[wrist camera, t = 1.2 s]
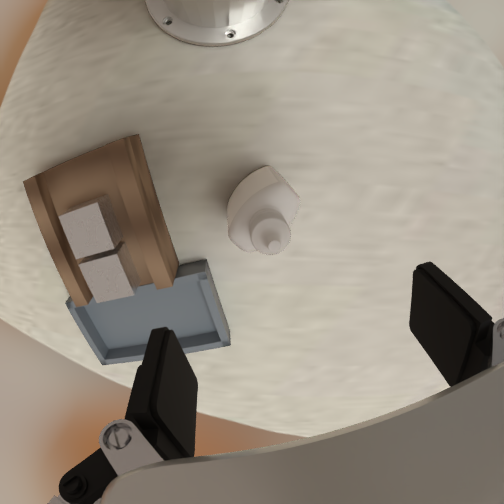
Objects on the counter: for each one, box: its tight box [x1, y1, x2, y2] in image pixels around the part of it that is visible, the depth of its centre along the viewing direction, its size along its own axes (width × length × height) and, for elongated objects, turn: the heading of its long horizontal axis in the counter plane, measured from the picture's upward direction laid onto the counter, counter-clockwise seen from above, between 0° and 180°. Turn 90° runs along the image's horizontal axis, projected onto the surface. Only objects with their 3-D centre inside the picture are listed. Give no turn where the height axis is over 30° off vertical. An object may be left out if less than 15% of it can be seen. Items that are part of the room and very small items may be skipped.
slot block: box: [23, 134, 179, 307], centre depth 26 cm, size 13×10×4 cm
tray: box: [65, 259, 231, 365], centre depth 31 cm, size 9×16×2 cm, turn 102°
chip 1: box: [59, 194, 123, 259], centre depth 24 cm, size 4×4×2 cm
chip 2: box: [78, 242, 141, 303], centre depth 26 cm, size 4×4×2 cm
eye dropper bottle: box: [227, 166, 300, 255], centre depth 23 cm, size 4×6×12 cm
